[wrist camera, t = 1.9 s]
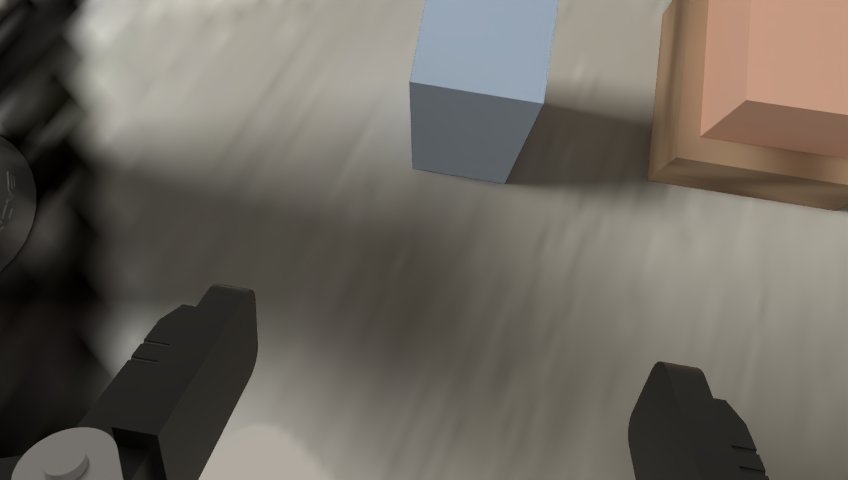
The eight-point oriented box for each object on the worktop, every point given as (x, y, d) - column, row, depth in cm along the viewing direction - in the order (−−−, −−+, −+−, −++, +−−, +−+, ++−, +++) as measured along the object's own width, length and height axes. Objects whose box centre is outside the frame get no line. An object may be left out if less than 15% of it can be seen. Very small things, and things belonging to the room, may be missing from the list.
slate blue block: (412, 168, 31) (409, 81, 22) (428, 83, 32) (432, -37, 23) (504, 183, 31) (543, 103, 21) (517, 98, 32) (560, -16, 22)
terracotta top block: (700, 136, 28) (746, 99, 24) (709, -10, 30) (753, -67, 26) (867, 161, 28) (941, 128, 24) (867, 12, 29) (936, -41, 26)
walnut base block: (644, 182, 32) (676, 157, 28) (659, 18, 34) (691, -27, 30) (829, 212, 31) (887, 191, 28) (833, 45, 33) (889, 3, 30)
